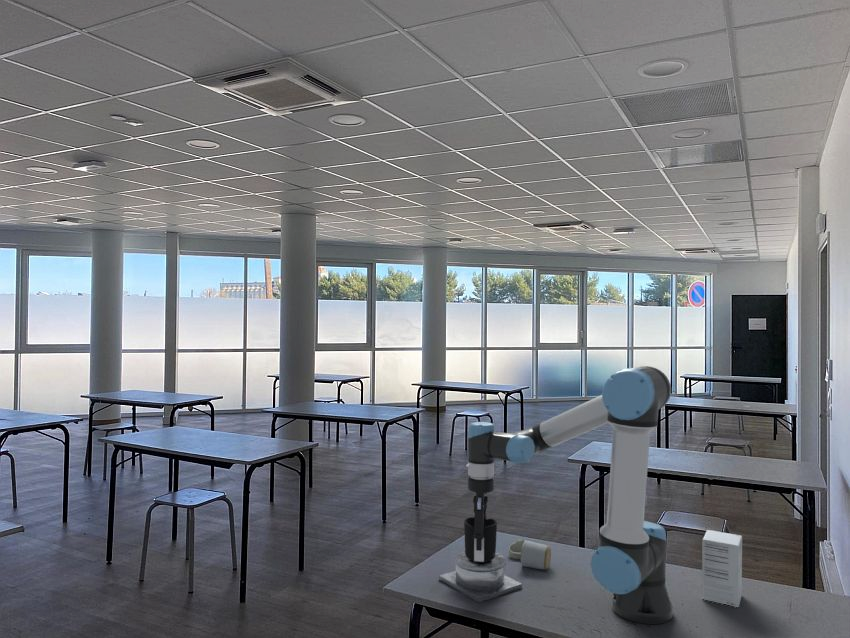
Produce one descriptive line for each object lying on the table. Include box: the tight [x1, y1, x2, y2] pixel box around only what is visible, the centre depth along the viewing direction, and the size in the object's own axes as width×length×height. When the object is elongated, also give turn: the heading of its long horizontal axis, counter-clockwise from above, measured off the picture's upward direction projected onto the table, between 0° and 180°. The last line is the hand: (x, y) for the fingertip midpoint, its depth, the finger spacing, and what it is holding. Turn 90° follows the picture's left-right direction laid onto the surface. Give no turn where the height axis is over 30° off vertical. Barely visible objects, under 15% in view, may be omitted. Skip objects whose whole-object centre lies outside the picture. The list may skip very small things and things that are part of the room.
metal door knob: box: [438, 550, 523, 603], centre depth 180 cm, size 18×16×7 cm
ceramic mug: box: [520, 539, 552, 571], centre depth 193 cm, size 11×8×8 cm
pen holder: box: [463, 516, 498, 561], centre depth 180 cm, size 9×9×10 cm
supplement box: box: [701, 529, 743, 608], centre depth 172 cm, size 10×9×17 cm
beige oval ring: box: [508, 539, 526, 560], centre depth 201 cm, size 9×6×5 cm
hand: (480, 554), depth 180 cm, fingers closed on pen holder, 9 cm apart
